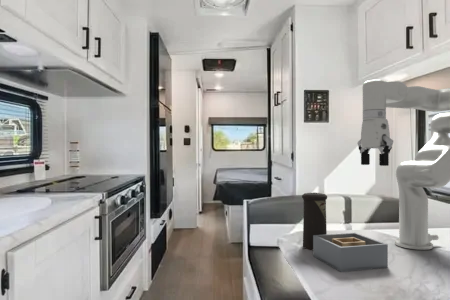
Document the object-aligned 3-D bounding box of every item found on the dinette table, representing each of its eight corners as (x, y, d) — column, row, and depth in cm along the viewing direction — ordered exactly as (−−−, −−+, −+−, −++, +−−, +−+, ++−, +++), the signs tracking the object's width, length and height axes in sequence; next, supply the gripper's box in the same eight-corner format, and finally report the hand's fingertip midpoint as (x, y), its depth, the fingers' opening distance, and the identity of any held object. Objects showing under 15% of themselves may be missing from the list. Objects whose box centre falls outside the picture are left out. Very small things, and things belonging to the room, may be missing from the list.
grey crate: (355, 253, 121) (355, 232, 121) (387, 267, 105) (387, 244, 106) (313, 256, 117) (313, 235, 117) (340, 272, 101) (340, 247, 101)
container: (328, 251, 123) (328, 194, 123) (302, 249, 125) (302, 193, 125) (326, 245, 131) (326, 191, 132) (301, 243, 133) (301, 191, 133)
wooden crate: (353, 255, 115) (353, 237, 115) (365, 260, 109) (365, 241, 109) (332, 257, 113) (332, 238, 113) (342, 262, 107) (342, 243, 107)
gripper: (401, 113, 115) (401, 166, 115) (367, 118, 132) (367, 164, 131) (382, 113, 113) (382, 166, 113) (349, 118, 130) (350, 164, 130)
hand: (374, 165), depth 122 cm, fingers open, 9 cm apart
